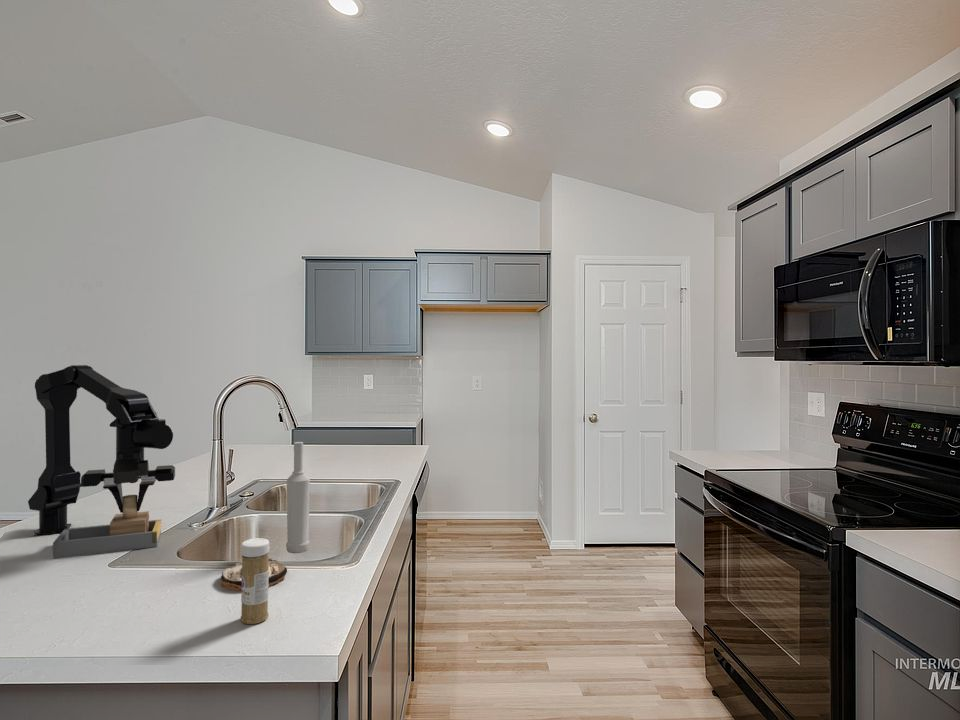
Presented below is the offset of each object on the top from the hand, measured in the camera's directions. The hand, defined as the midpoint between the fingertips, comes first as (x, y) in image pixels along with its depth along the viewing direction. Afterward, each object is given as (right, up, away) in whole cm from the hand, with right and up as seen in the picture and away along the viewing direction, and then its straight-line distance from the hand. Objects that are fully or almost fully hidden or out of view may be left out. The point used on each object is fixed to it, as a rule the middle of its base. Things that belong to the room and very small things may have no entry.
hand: (130, 511), depth 138 cm
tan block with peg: (0, -6, 0) cm, 6 cm away
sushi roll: (+38, -9, -20) cm, 44 cm away
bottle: (+41, -8, -3) cm, 42 cm away
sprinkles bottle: (+45, -9, -38) cm, 59 cm away
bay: (-4, -8, -2) cm, 8 cm away
